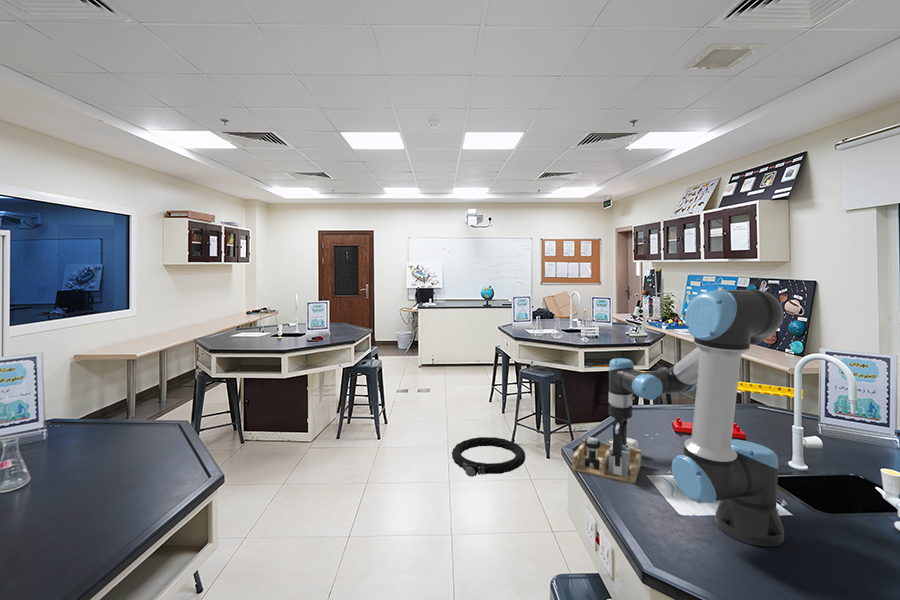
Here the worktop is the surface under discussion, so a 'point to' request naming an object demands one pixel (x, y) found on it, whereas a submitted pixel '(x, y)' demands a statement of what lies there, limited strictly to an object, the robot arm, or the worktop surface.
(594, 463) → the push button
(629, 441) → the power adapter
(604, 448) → the divided wooden rack
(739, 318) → the robot arm
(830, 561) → the worktop surface
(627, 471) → the block
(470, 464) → the cable lock
